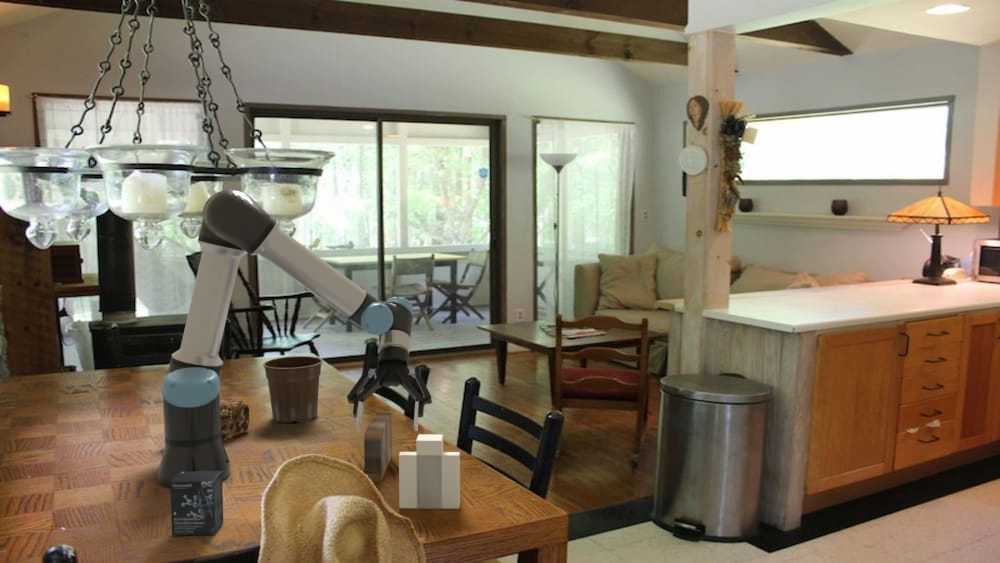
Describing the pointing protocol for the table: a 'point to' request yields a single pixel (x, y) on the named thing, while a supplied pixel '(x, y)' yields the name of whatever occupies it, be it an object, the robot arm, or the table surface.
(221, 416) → the bread
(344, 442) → the table surface
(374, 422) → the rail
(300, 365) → the plant pot
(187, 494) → the box
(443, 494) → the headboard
